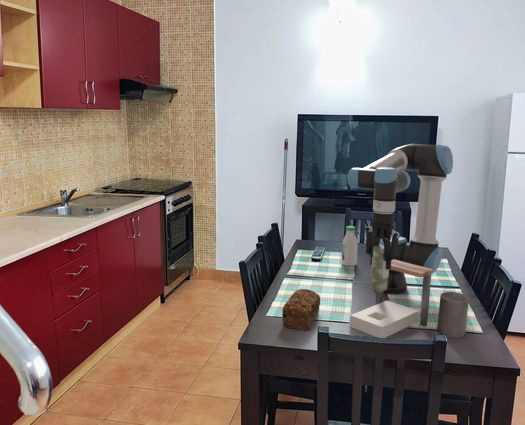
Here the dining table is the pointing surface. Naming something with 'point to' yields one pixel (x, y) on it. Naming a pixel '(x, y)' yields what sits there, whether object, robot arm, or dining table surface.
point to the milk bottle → (349, 247)
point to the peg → (378, 269)
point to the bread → (301, 309)
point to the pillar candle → (452, 314)
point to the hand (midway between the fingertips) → (379, 275)
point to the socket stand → (394, 307)
